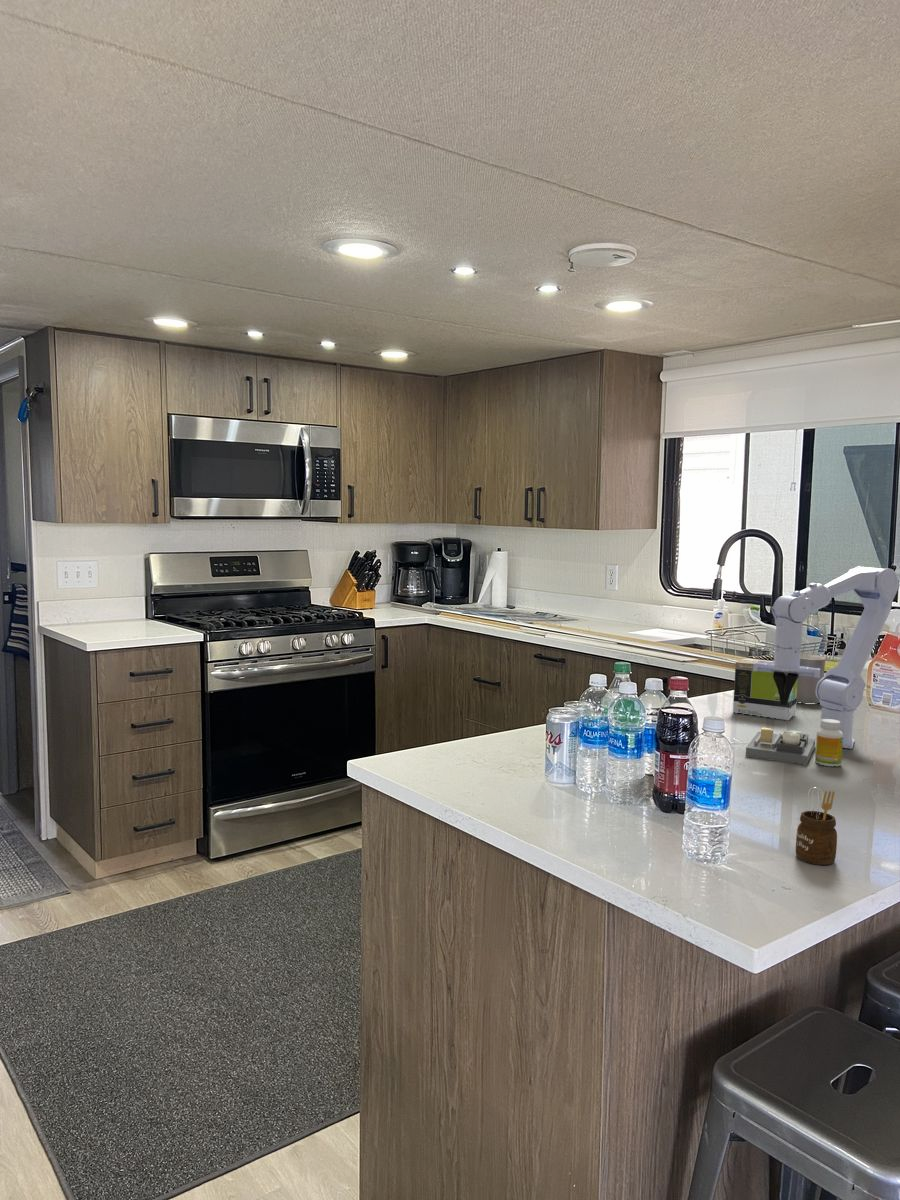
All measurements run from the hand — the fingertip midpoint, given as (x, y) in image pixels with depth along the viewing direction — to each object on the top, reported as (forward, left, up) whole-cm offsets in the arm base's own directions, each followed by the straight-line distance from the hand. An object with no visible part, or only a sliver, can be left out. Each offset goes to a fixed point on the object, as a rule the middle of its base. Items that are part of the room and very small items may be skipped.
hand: (783, 704), depth 210 cm
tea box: (-37, -9, -11) cm, 40 cm away
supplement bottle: (+9, +11, -11) cm, 18 cm away
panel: (+4, +1, -10) cm, 11 cm away
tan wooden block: (+7, -3, -8) cm, 11 cm away
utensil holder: (+72, +14, -11) cm, 74 cm away
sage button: (+1, +3, -8) cm, 9 cm away
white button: (+9, +3, -7) cm, 12 cm away
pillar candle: (-64, -1, -11) cm, 65 cm away
